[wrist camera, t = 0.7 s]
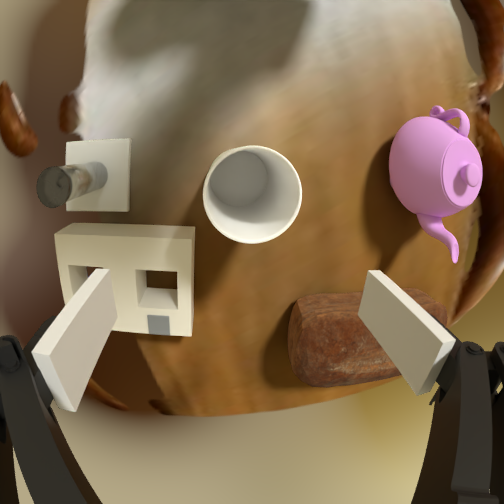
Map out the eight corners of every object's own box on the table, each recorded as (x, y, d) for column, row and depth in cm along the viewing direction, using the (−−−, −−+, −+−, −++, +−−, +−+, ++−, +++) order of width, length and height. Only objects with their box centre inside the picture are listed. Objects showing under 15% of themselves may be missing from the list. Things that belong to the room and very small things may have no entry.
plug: (82, 161, 34) (36, 168, 22) (108, 160, 34) (68, 165, 23) (82, 190, 35) (37, 208, 24) (108, 190, 36) (68, 207, 24)
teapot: (433, 238, 45) (484, 266, 32) (364, 230, 43) (415, 261, 30) (450, 121, 38) (507, 122, 25) (382, 93, 36) (440, 80, 23)
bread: (407, 339, 53) (438, 374, 41) (278, 355, 49) (294, 405, 38) (425, 279, 48) (465, 309, 37) (286, 286, 45) (308, 330, 33)
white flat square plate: (69, 142, 33) (66, 142, 32) (131, 138, 35) (129, 138, 34) (69, 209, 36) (66, 210, 36) (129, 210, 38) (127, 211, 37)
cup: (208, 208, 39) (204, 245, 24) (208, 148, 37) (201, 145, 22) (268, 207, 40) (299, 243, 25) (269, 148, 37) (304, 147, 22)
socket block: (72, 222, 37) (53, 234, 31) (195, 226, 40) (191, 240, 34) (83, 305, 42) (68, 325, 36) (193, 314, 44) (191, 337, 38)
